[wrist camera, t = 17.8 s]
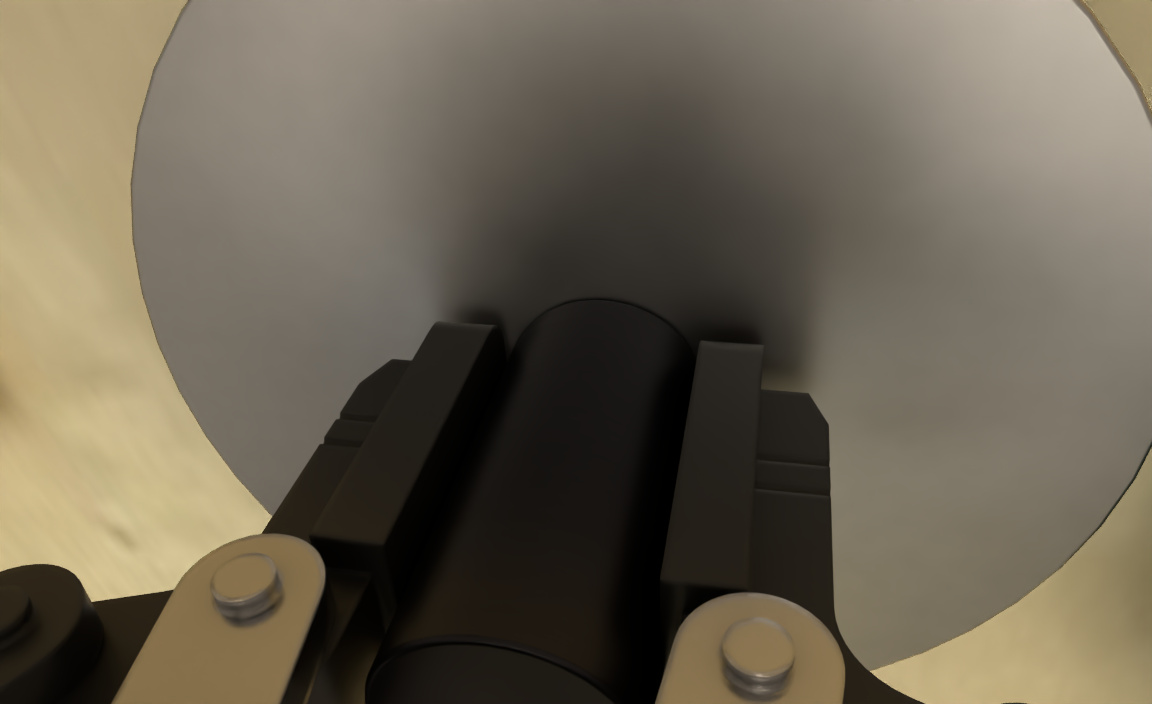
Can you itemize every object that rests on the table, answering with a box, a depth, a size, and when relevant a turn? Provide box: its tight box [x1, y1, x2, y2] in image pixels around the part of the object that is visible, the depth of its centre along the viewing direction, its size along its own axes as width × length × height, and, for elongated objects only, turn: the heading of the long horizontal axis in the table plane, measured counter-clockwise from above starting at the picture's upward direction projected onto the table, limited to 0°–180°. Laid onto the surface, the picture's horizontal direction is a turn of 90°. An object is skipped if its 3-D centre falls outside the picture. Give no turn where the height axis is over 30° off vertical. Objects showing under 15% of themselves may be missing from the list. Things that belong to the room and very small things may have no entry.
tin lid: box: [131, 0, 1152, 704], centre depth 10 cm, size 12×12×6 cm
